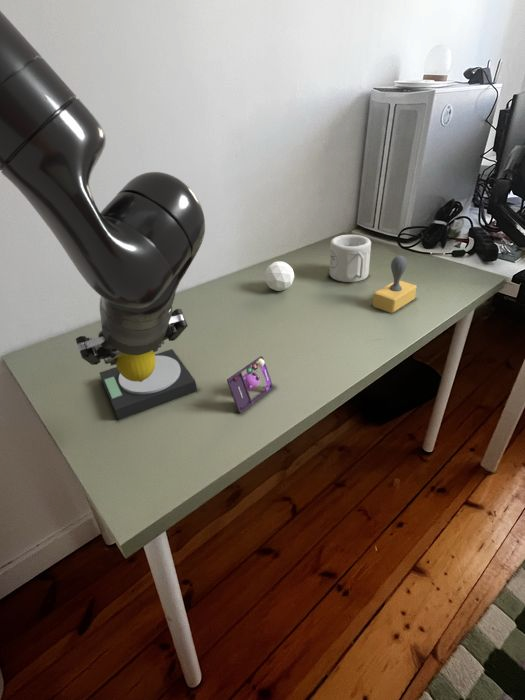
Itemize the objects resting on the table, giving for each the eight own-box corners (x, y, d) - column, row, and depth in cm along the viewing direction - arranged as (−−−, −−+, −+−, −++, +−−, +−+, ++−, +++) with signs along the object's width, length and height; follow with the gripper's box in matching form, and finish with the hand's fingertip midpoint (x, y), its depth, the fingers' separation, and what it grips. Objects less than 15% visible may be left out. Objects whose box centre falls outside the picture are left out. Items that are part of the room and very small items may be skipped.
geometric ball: (274, 300, 117) (256, 282, 112) (279, 279, 121) (261, 260, 117) (297, 291, 112) (279, 272, 108) (301, 270, 117) (284, 250, 112)
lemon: (166, 373, 66) (157, 328, 62) (146, 395, 62) (134, 348, 57) (135, 367, 68) (124, 323, 63) (114, 388, 63) (100, 342, 59)
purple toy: (230, 380, 73) (265, 356, 79) (212, 377, 77) (246, 354, 82) (243, 413, 75) (276, 388, 81) (224, 409, 79) (257, 385, 85)
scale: (118, 420, 76) (114, 407, 75) (102, 382, 86) (98, 369, 84) (197, 390, 82) (194, 378, 80) (174, 358, 92) (171, 346, 90)
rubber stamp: (395, 292, 111) (401, 247, 105) (415, 299, 108) (422, 253, 101) (372, 306, 106) (376, 259, 99) (392, 313, 102) (398, 266, 96)
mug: (323, 270, 125) (324, 236, 119) (358, 265, 127) (361, 231, 121) (341, 290, 114) (343, 253, 108) (379, 283, 116) (383, 248, 110)
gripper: (184, 268, 52) (169, 315, 67) (57, 299, 46) (73, 343, 62) (207, 325, 51) (186, 360, 66) (80, 364, 45) (90, 392, 61)
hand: (131, 352), depth 64 cm, fingers closed on lemon, 5 cm apart
